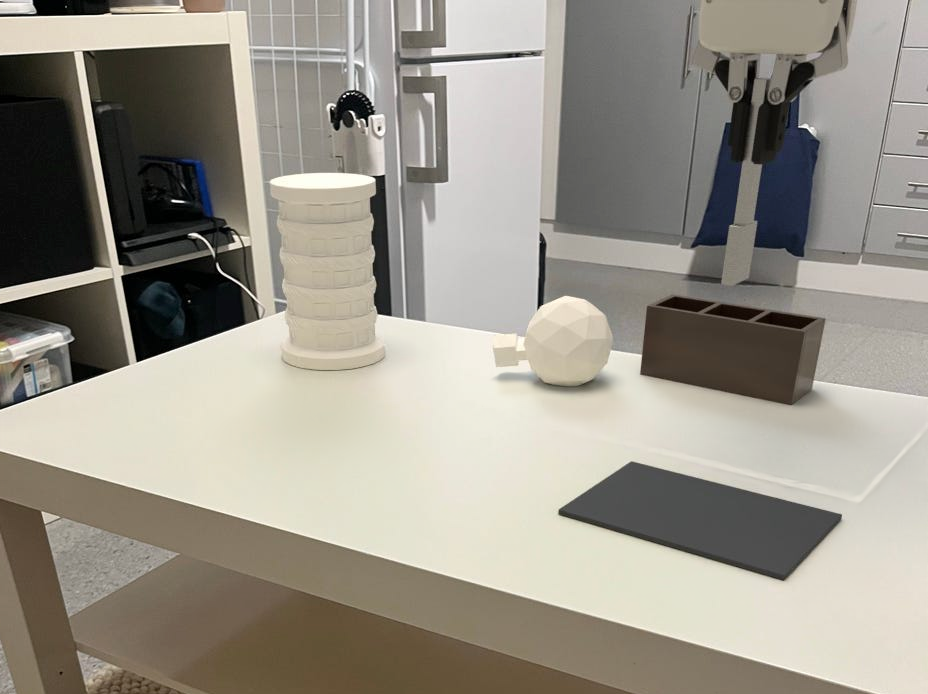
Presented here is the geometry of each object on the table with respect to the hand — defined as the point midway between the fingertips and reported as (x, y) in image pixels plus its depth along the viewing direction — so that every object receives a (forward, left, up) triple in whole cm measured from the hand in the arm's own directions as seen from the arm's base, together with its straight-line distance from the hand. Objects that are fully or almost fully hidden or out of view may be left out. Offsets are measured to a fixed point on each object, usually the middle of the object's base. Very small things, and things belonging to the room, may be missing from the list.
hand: (752, 160), depth 77 cm
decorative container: (+46, -2, -23) cm, 52 cm away
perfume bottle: (+21, -8, -24) cm, 32 cm away
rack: (+6, -17, -23) cm, 29 cm away
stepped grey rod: (0, 0, -9) cm, 9 cm away
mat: (-5, +13, -23) cm, 27 cm away
